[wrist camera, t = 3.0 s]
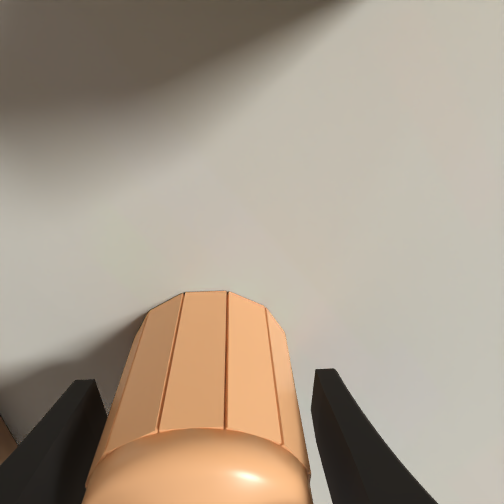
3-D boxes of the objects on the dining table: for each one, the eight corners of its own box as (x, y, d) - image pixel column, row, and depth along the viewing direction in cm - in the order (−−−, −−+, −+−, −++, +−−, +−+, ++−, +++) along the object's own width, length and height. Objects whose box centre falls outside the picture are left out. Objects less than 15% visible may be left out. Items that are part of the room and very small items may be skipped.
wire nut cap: (281, 395, 15) (308, 580, 10) (148, 402, 15) (103, 594, 10) (287, 288, 12) (329, 467, 7) (122, 294, 12) (38, 484, 7)
